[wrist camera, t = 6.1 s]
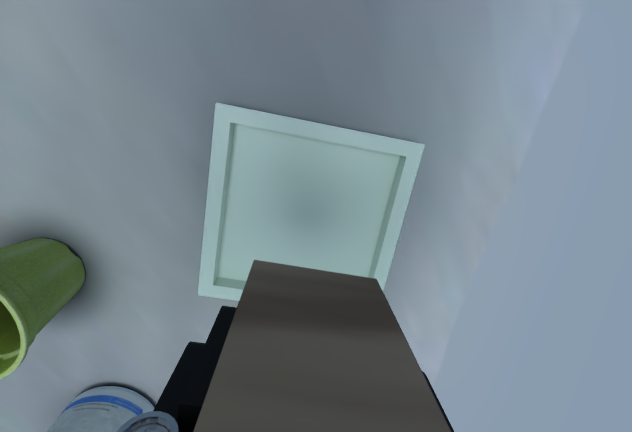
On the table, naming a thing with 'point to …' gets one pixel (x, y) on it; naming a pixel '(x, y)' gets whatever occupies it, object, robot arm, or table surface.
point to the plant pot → (33, 293)
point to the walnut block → (316, 360)
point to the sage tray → (301, 198)
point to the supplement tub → (101, 410)
